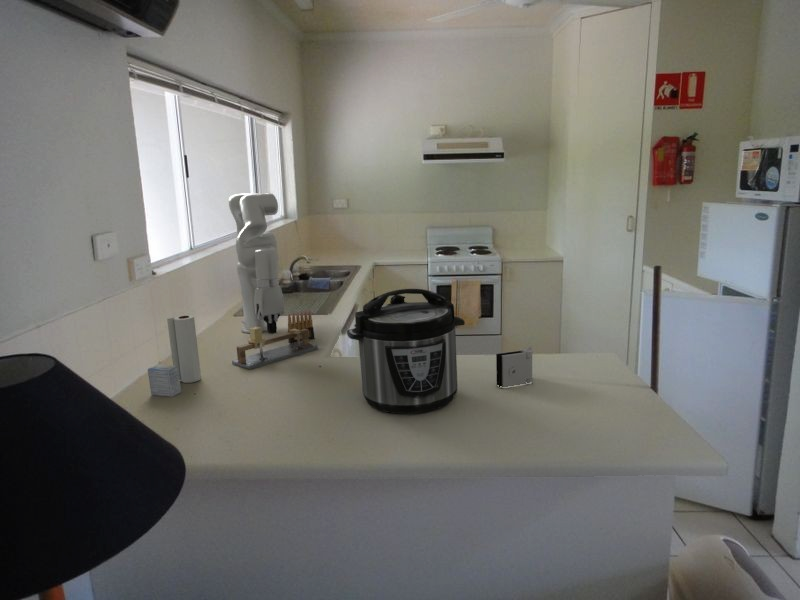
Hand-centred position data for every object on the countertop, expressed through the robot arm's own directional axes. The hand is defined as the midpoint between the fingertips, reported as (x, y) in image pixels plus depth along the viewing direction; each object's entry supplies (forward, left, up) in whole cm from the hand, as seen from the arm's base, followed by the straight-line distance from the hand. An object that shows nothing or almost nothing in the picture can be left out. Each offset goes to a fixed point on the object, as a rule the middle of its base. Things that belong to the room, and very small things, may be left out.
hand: (272, 332), depth 208 cm
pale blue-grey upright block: (+5, -43, -9) cm, 45 cm away
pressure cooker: (+69, -2, -9) cm, 69 cm away
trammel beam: (+1, +1, -8) cm, 8 cm away
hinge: (+86, +27, -9) cm, 90 cm away
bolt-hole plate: (0, +1, -9) cm, 9 cm away
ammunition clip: (-9, +20, -9) cm, 24 cm away
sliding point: (0, -7, -7) cm, 10 cm away
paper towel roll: (-1, -32, -9) cm, 34 cm away
